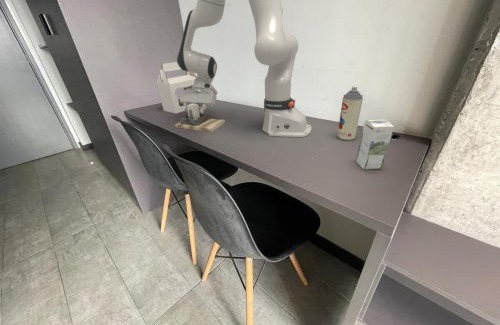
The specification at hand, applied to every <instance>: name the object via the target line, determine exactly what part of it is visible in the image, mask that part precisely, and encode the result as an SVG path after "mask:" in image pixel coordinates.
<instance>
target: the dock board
mask: <svg viewBox="0 0 500 325" xmlns="http://www.w3.org/2000/svg"><path fill="white" fill-rule="evenodd" d="M199 114H200V118H198V119H189V116H188V114H187V115H185V116H182V117H180V118H179V122H177V123H176V124H174V127H175V128H178V129H185V130H193V131H194V130H195V131H203V132H210V133H211V132H213V131H215V130H217V129H218V128H219V127H221V126H223V125H224V124H225V123H226V120H225V119H218V118H217V119H215V118H210V116H209V115H210V114H209V113H203V114H202V113H199Z"/></svg>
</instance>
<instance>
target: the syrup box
mask: <svg viewBox="0 0 500 325" xmlns="http://www.w3.org/2000/svg"><path fill="white" fill-rule="evenodd" d="M394 128H395V126H394V125H393V124H392V123H391V122H389V121H387V120H386V119H373V120H371V119H369V120H364V122H363V127H362V130H361V131H362V132H361V137H360V140H359V145H358V150H357V154H356V159H355V162H356V163H357V165H359V167H361V169H362V170H364V171H365V170H368V171H369V170H381V169H382V168H383V165H384V162H385V158H386V155H387V151H388V150H389V149H388V148H389V145H390V142H391V138H392V136H393V131H394Z"/></svg>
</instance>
